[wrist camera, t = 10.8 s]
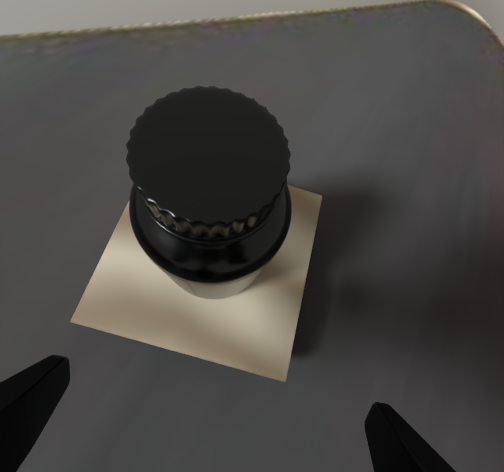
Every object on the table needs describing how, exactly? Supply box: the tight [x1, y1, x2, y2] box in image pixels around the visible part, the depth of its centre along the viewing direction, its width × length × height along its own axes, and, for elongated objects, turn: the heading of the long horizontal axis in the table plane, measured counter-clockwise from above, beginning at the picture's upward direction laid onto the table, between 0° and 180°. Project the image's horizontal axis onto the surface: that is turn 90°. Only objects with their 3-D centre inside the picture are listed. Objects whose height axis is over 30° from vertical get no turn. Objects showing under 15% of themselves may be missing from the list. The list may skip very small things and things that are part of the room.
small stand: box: [70, 185, 322, 382], centre depth 21 cm, size 14×14×4 cm
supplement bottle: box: [126, 86, 292, 299], centre depth 13 cm, size 7×7×12 cm
